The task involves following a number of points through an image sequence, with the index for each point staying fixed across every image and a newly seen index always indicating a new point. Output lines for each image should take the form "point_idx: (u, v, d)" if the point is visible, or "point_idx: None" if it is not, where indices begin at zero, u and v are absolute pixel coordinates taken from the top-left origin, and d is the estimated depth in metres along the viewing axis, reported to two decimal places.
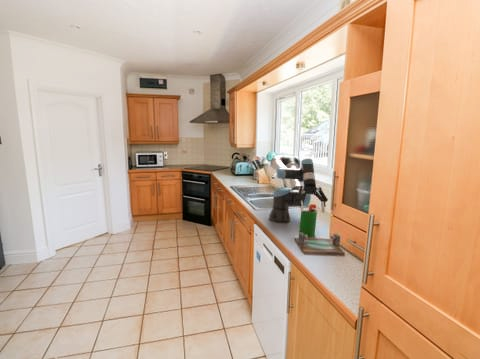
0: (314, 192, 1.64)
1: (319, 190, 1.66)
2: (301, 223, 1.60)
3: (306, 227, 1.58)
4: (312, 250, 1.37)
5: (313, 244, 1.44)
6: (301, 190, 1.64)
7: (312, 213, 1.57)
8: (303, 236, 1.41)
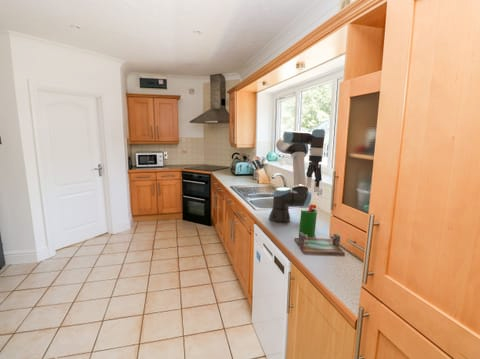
0: None
1: None
2: (301, 223, 1.60)
3: (306, 227, 1.58)
4: (312, 250, 1.37)
5: (313, 244, 1.44)
6: (309, 166, 1.63)
7: (312, 213, 1.57)
8: (303, 236, 1.41)
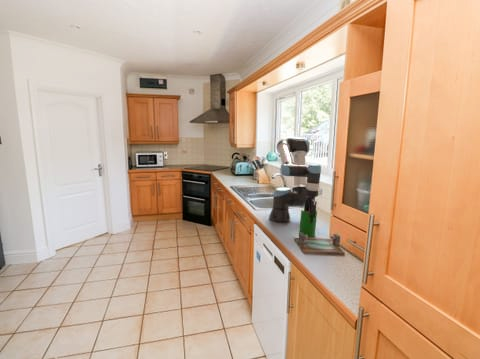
0: None
1: None
2: (301, 223, 1.60)
3: (306, 227, 1.58)
4: (312, 250, 1.37)
5: (313, 244, 1.44)
6: (305, 200, 1.66)
7: None
8: (303, 236, 1.41)
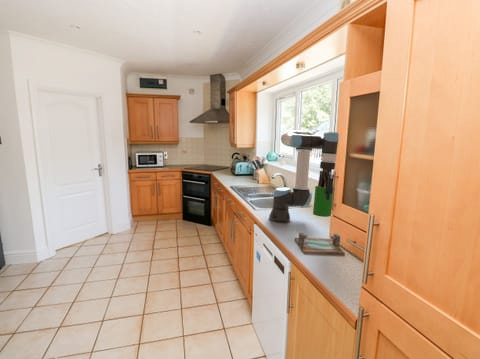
0: None
1: None
2: (315, 201, 1.38)
3: (321, 205, 1.36)
4: (312, 250, 1.37)
5: (313, 244, 1.44)
6: (320, 176, 1.44)
7: None
8: (303, 236, 1.41)
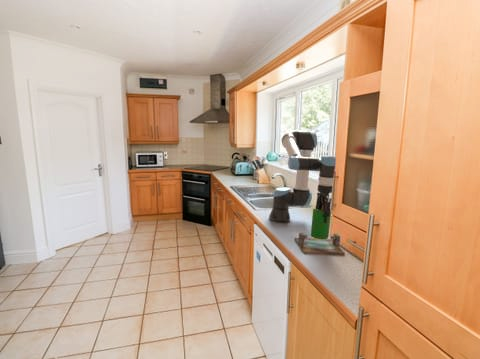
0: None
1: None
2: (313, 223, 1.40)
3: (319, 228, 1.38)
4: (312, 250, 1.37)
5: (313, 244, 1.44)
6: (317, 198, 1.46)
7: None
8: (303, 236, 1.41)
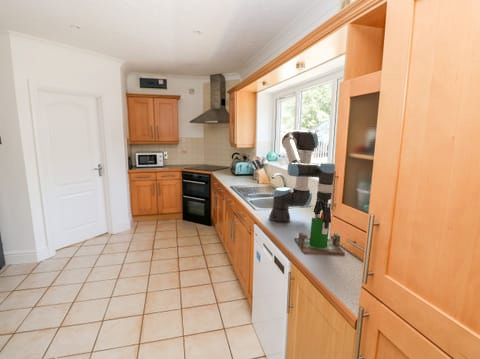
0: None
1: None
2: (312, 232, 1.41)
3: (318, 237, 1.39)
4: (312, 250, 1.37)
5: None
6: (316, 202, 1.47)
7: None
8: (303, 236, 1.41)
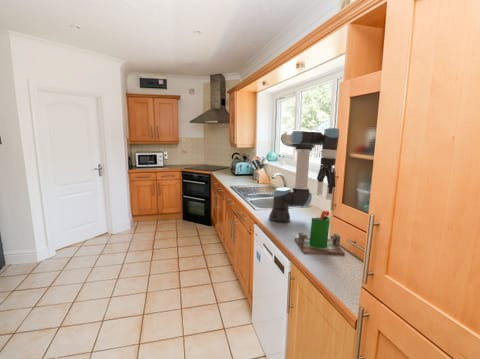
0: None
1: (330, 171, 1.33)
2: (312, 232, 1.41)
3: (318, 237, 1.39)
4: (312, 250, 1.37)
5: None
6: (320, 170, 1.45)
7: (325, 221, 1.37)
8: (303, 236, 1.41)
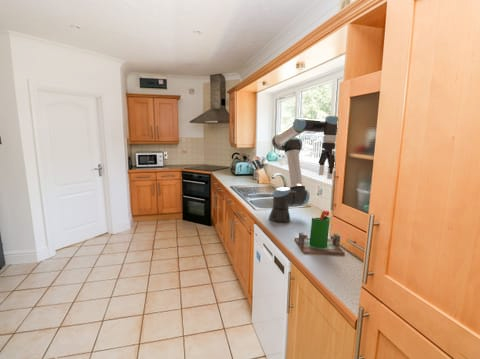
0: None
1: None
2: (312, 232, 1.41)
3: (318, 237, 1.39)
4: (312, 250, 1.37)
5: None
6: (321, 154, 1.64)
7: (325, 221, 1.37)
8: (303, 236, 1.41)
